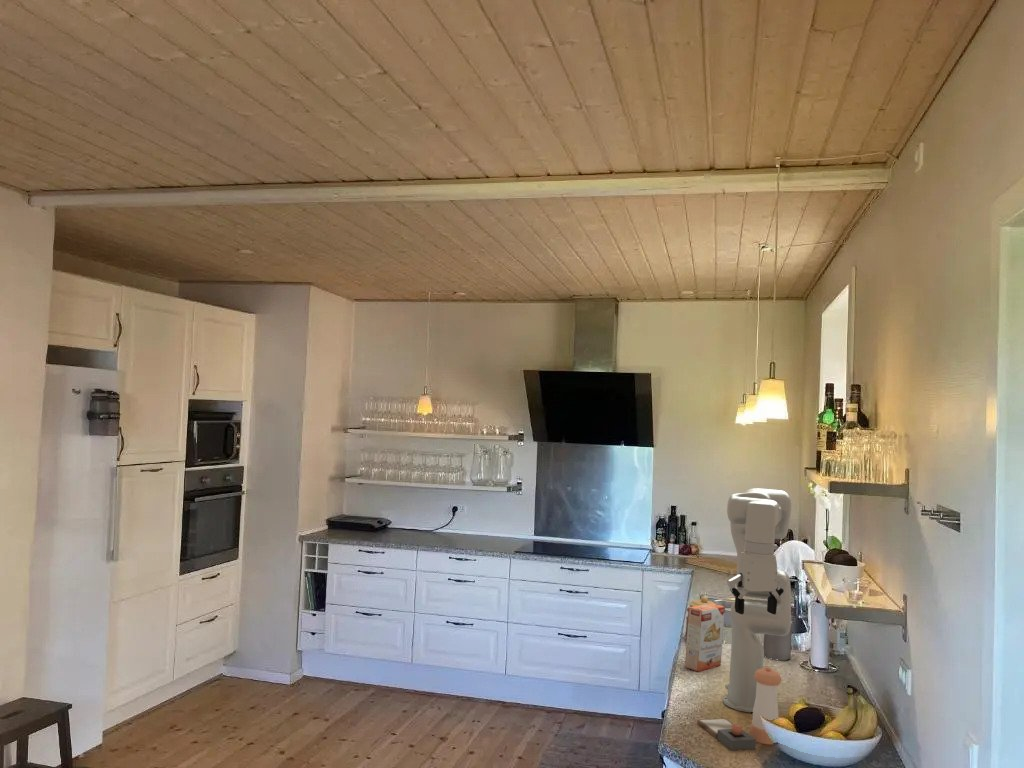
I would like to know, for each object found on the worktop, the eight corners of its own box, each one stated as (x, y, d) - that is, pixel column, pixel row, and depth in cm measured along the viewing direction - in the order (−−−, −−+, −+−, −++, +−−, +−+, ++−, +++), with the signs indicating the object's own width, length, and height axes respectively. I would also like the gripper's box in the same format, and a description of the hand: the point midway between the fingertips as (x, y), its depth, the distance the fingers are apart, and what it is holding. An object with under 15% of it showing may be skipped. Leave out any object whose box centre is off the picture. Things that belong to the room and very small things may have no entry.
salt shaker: (747, 739, 207) (751, 667, 208) (754, 731, 213) (757, 661, 214) (774, 747, 203) (778, 673, 204) (781, 738, 209) (785, 667, 210)
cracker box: (698, 672, 261) (702, 610, 262) (684, 667, 265) (687, 606, 266) (722, 666, 270) (725, 606, 271) (707, 661, 275) (711, 602, 275)
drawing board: (697, 723, 216) (697, 719, 216) (725, 721, 218) (725, 717, 218) (716, 738, 206) (716, 734, 206) (745, 736, 209) (745, 732, 209)
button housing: (717, 739, 206) (717, 729, 206) (740, 737, 208) (740, 728, 208) (731, 750, 199) (732, 740, 199) (755, 749, 201) (755, 739, 201)
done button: (729, 731, 204) (730, 723, 204) (738, 730, 205) (738, 723, 205) (735, 735, 202) (735, 727, 202) (743, 735, 203) (744, 727, 203)
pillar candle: (767, 651, 293) (769, 611, 293) (793, 657, 287) (795, 616, 287) (759, 656, 285) (761, 616, 285) (786, 663, 279) (788, 621, 280)
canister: (706, 649, 290) (709, 601, 290) (678, 640, 299) (680, 594, 300) (725, 643, 298) (728, 598, 299) (697, 635, 308) (699, 590, 309)
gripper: (779, 546, 211) (775, 609, 210) (722, 545, 207) (719, 609, 206) (795, 551, 204) (792, 617, 203) (738, 550, 199) (734, 617, 199)
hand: (755, 613), depth 205 cm, fingers open, 9 cm apart
